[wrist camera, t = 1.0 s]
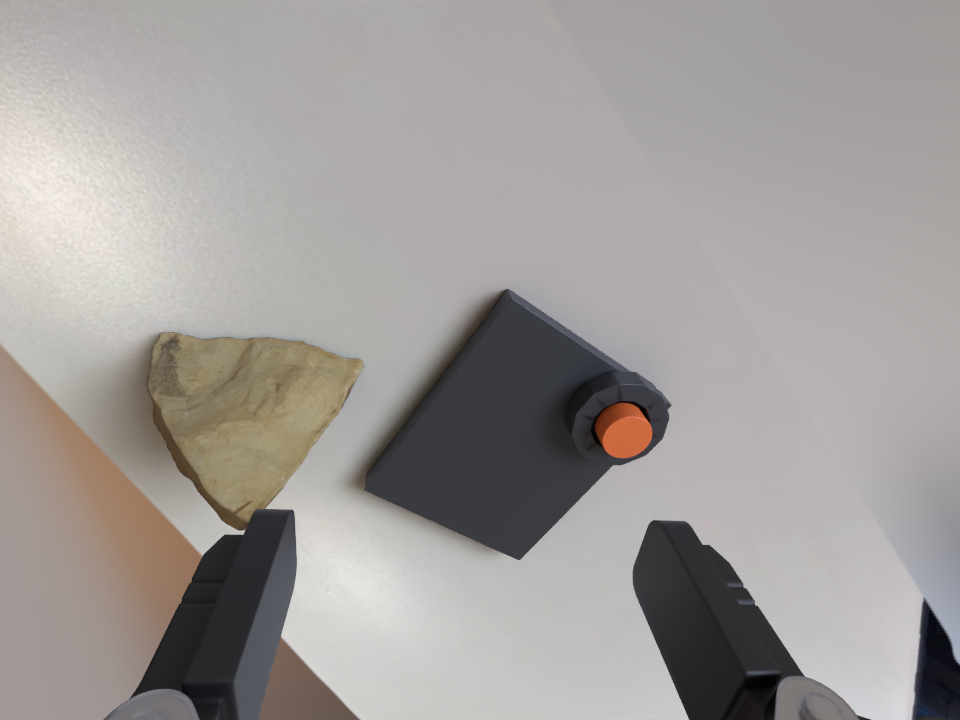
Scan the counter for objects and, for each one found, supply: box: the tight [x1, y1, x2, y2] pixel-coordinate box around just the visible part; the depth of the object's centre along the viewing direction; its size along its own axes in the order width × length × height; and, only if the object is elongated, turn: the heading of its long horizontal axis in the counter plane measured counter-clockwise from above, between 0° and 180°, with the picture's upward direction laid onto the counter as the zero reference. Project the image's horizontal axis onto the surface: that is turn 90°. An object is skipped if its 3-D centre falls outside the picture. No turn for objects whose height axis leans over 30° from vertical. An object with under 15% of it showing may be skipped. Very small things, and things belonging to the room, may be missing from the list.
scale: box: [364, 289, 671, 560], centre depth 33 cm, size 16×13×3 cm
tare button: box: [595, 403, 652, 458], centre depth 30 cm, size 3×3×2 cm
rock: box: [147, 332, 364, 530], centre depth 27 cm, size 11×9×10 cm
